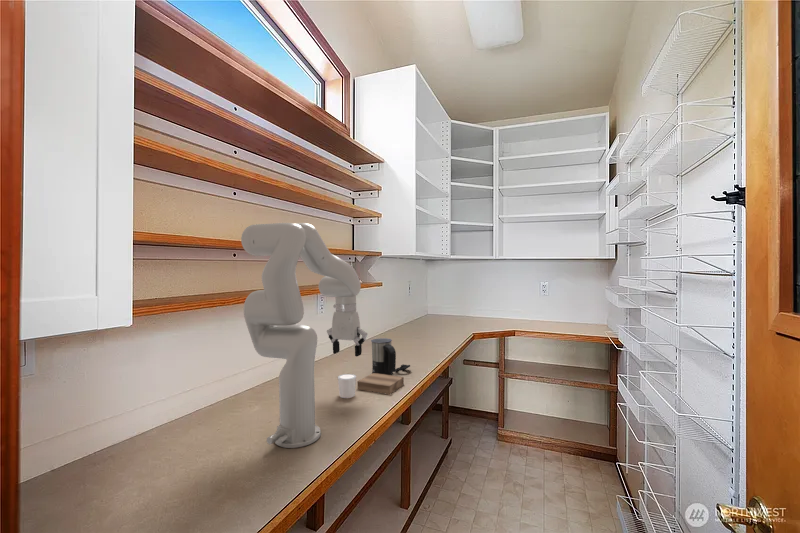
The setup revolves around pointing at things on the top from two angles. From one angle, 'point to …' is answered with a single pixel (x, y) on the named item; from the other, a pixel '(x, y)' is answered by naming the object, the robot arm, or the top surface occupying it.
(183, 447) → the top surface
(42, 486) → the top surface
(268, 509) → the top surface
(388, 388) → the walnut riser
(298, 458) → the top surface
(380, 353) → the milk frother
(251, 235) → the robot arm
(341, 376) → the white cup
